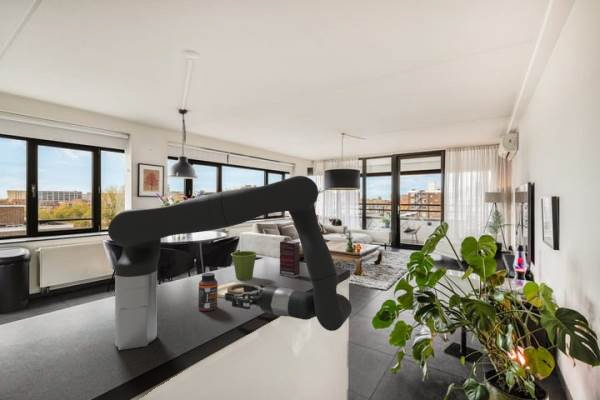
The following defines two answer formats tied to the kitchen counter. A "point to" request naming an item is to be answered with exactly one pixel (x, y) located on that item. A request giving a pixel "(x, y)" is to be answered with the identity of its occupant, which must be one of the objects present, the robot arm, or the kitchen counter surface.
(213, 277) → the supplement bottle
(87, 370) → the kitchen counter surface
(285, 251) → the supplement box
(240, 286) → the stool seat board
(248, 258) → the plant pot
